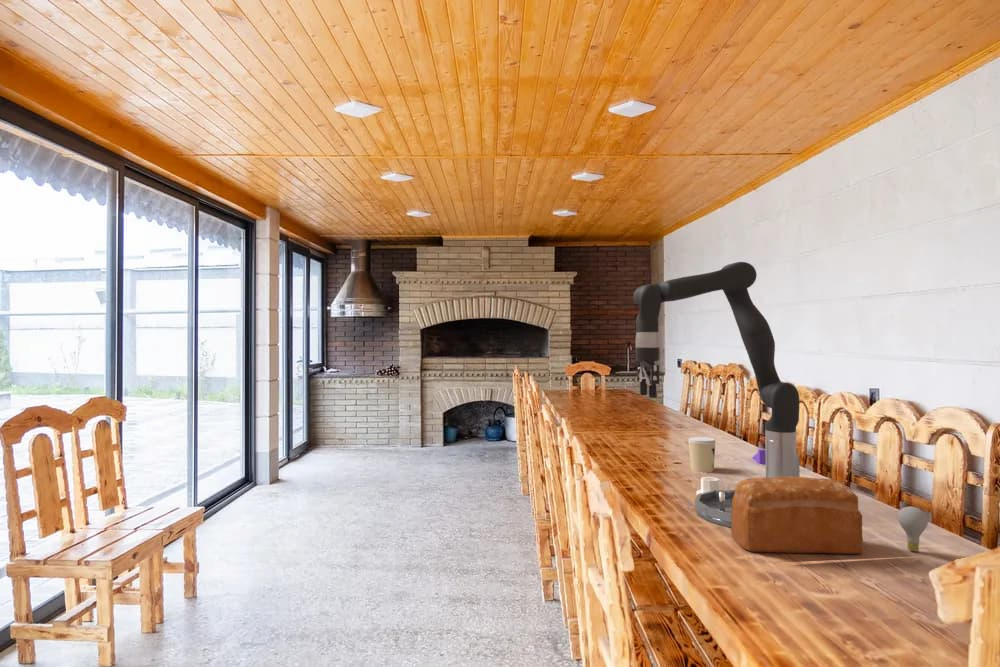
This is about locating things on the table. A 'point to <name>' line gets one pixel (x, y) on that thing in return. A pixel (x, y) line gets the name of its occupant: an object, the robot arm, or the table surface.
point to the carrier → (715, 506)
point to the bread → (796, 516)
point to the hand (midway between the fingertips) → (647, 396)
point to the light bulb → (913, 525)
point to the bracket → (760, 457)
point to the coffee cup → (702, 454)
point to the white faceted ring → (708, 484)
